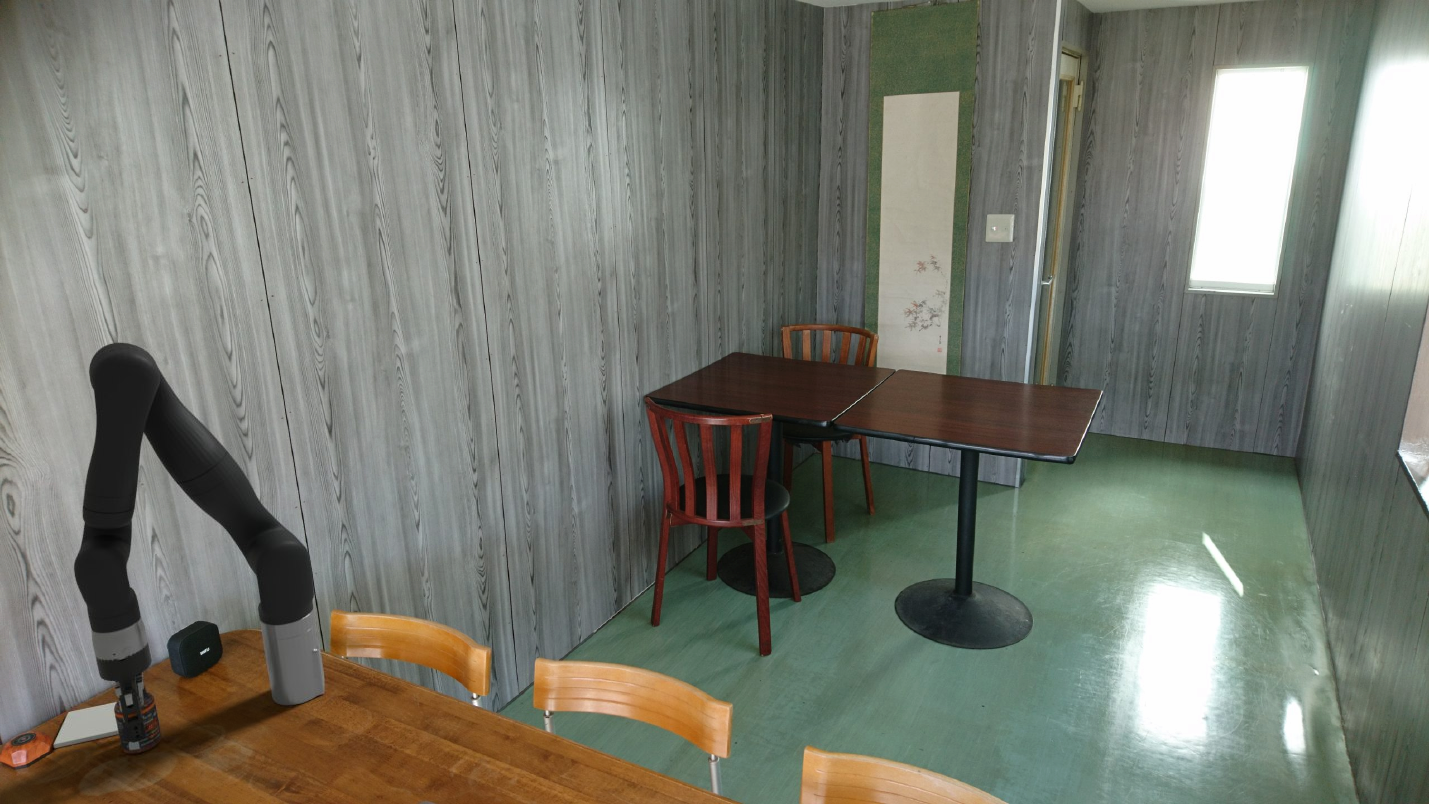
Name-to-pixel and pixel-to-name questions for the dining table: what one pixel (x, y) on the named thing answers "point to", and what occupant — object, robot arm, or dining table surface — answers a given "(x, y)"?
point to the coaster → (87, 725)
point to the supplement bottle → (149, 723)
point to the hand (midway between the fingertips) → (138, 726)
